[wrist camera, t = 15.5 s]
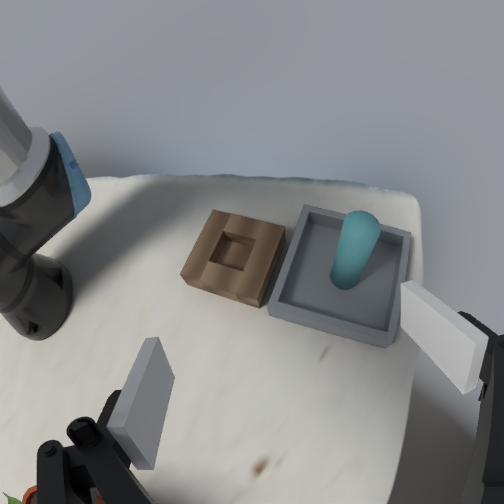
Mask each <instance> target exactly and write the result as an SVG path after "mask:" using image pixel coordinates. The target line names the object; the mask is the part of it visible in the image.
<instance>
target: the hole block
mask: <svg viewBox="0 0 504 504" xmlns="http://www.w3.org/2000/svg"><path fill="white" fill-rule="evenodd" d="M285 241H286V238H285V227H283V226H279V225H275V224H271V223H267V222H263V221H259V220H255V219H251V218H247V217H242V216H238V215H234V214H230V213H225V212H221V211H217V210H213V211H212V213H211V214H210V216H209V218H208V220H207V222H206V224H205V226H204V228H203V230H202V232H201V233H200V235H199V237H198V239H197V241H196V243H195V245H194V247H193V249H192V251H191V253H190V255H189V257H188V259H187V261H186V263H185V265H184V267H183V269H182V271H181V273H180V275H181V276H182V278H183V279H184V280H185V282H186V283H187V285H190V286H193V287H196V288H199V289H202V290H205V291H208V292H211V293H214V294H217V295H220V296H223V297H226V298H229V299H232V300H235V301H238V302H241V303H244V304H247V305H250V306H253V307H257V308H260V307H261V304H262V301H263V299H264V296H265V294H266V291H267V288H268V286H269V283H270V280H271V278H272V275H273V273H274V270H275V267H276V265H277V262H278V259H279V257H280V254H281V251H282V249H283V246H284V243H285Z"/></svg>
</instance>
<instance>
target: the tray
mask: <svg viewBox="0 0 504 504" xmlns="http://www.w3.org/2000/svg"><path fill="white" fill-rule="evenodd" d="M346 216H347V215H345V214H341V213H337V212H333V211H329V210H325V209H321V208H317V207H313V206H309V205H304V206H303V209H302V212H301V215H300V218H299V221H298V224H297V226H296V229H295V232H294V235H293V238H292V240H291V243H290V246H289V249H288V251H287V254H286V257H285V260H284V262H283V265H282V268H281V271H280V273H279V276H278V279H277V281H276V284H275V287H274V289H273V292H272V295H271V297H270V300H269V303H268V305H267V308H268V312H269V315H270V316H273V317H276V318H280V319H283V320H286V321H289V322H293V323H296V324H299V325H303V326H306V327H310V328H313V329H316V330H320V331H323V332H327V333H330V334H334V335H338V336H341V337H345V338H348V339H352V340H356V341H360V342H363V343H367V344H371V345H375V346H379V347H382V348H386V347H388V346H389V345H390V344H392V343H393V342H394V337H395V332H396V328H397V323H398V318H399V313H400V307H401V283H404V282H405V277H406V270H407V262H408V254H409V246H410V236H411V232H407V231H404V230H400V229H397V228H393V227H390V226H386V225H383V224H380V228H381V230H380V235H379V237H378V239H377V242H376V244H375V246H374V248H373V251H372V253H371V255H370V257H369V259H368V262H367V264H366V266H365V268H364V270H363V272H362V274H361V276H360V279H359V281H358V283H357V284H356V286H355V287H353V288H351V289H348V290H342V289H339V288H337V287H336V286H335V285H334V284H333V283H332V281H331V278H330V273H331V269H332V265H333V261H334V258H335V254H336V250H337V246H338V242H339V238H340V234H341V230H342V226H343V222H344V219H345V217H346Z"/></svg>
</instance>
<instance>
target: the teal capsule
mask: <svg viewBox="0 0 504 504" xmlns="http://www.w3.org/2000/svg"><path fill="white" fill-rule="evenodd" d="M380 230H381V228H380V224H379V222H378V220H377V219H376V218H375V217H374V216H373V215H372V214H370V213H368V212H365V211H354V212H351V213H349V214H348V215H347V216H346V217H345V219H344V222H343V226H342V230H341V234H340V238H339V242H338V246H337V250H336V254H335V258H334V261H333V265H332V269H331V273H330V278H331V281H332V283H333V284H334V285H335V286H336V287H337V288H339V289H342V290H348V289H351V288H353V287H355V286H356V284H357V283H358V281H359V279H360V276H361V274H362V272H363V270H364V268H365V266H366V264H367V262H368V259H369V257H370V255H371V253H372V251H373V248H374V246H375V244H376V242H377V239H378V237H379V235H380Z"/></svg>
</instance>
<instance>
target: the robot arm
mask: <svg viewBox="0 0 504 504" xmlns="http://www.w3.org/2000/svg"><path fill="white" fill-rule="evenodd" d="M90 200H91V190H90V187H89V185H88V183H87V181H86V179H85V177H84V175H83V173H82V171H81V169H80V167H79V165H78V163H77V162H76V159H75V157H74V156H73V153H72V151H71V149H70V147H69V146H68V144H67V142H66V140H65V138H64V137H63V135H62V134H61V133H60V132H58V131H57V132H54V133H51V134H50V135H48V133H47V132H46V131H45V130H44V129H42V128H40V127H28V126H27V125H26V124H25V122H24V121H23V119H22V118H21V116H20V115H19V114H18V112H17V111H16V109H15V108H14V106H13V105H12V103H11V102H10V101H9V99H8V97H7V96H6V94H5V93H4V91H3V90H2V88H1V87H0V313H1V314H2V315H3V317H4V318H5V319H6V320H7V321H8V322H9V324H10V325H11V326H12V327H13V328H14V329H15V330H16V331H17V332H18V333H19V334H20V335H22V336H24V337H26V338H28V339H31V340H43V339H45V338H47V337H49V336H50V335H52V334H53V333H54V332H55V331H56V330H57V329H58V328H59V327H60V325H61V324H62V322H63V321H64V319H65V317H66V315H67V313H68V310H69V307H70V304H71V299H72V281H71V277H70V274H69V272H68V271H67V269H66V268H65V267H64V266H63V265H62V264H60V263H59V262H58V261H57V260H55V259H53V258H50V257H47V256H43V255H40V254H37V253H35V252H36V251H37V250H39V249H40V248H41V247H42V246H43V245H44V244H45V243H46V242H47V241H49V240H50V239H51V238H52V237H53V236H54V235H55V234H57V233H58V232H59V231H60V230H61V229H62V228H63V227H65V226H66V225H67V224H68V223H69V222H71V221H72V220H73V219H75V218H76V217H77V215H78V214H79V213H80V212H81V211H82V210H83V209H84V208H85V207H86V206H87V205H88V204H89V202H90ZM401 328H402V329H403V330H404V331H405V332H406V333H407V334H408V335H409V336H410V337H411V338H412V339H413V340H414V341H415V342H416V343H417V344H418V346H419V347H420V348H421V349H422V350H423V351H424V352H425V353H426V354H427V355H428V356H429V357H430V358H431V359H432V361H433V362H434V363H435V364H436V365H437V366H438V367H439V368H440V369H441V371H442V372H443V373H444V374H445V375H446V376H447V377H448V378H449V379H450V380H451V382H452V383H453V384H454V385H455V386H456V387H457V388H458V389H459V390H460V392H461V393H462V394H463V395H464V394H466V393H468V392H470V391H472V390H474V389H476V387H477V384H478V380H479V378H480V379H481V380H482V381H483V382H484V384H483V387H482V390H481V393H480V397H479V401H480V400H481V405H480V413H479V420H478V427H477V433H476V439H475V445H474V450H473V455H472V460H471V464H470V468H469V473H468V477H467V481H466V484H465V488H464V492H463V495H462V499H461V502H460V504H504V335H500V336H498V335H497V334H496V333H494V332H493V331H492V330H490V329H489V328H488V327H486V326H485V325H484V324H481V322H480V321H478V320H476V318H474V317H473V316H472V315H470V314H468V313H465V312H462V311H460V312H458V313H457V312H456V311H454V310H453V309H451V308H450V307H449V306H448V305H446V304H445V303H444V302H442V301H441V300H439V299H438V298H437V297H435V296H434V295H432V294H431V293H429V292H428V291H427V290H425V289H424V288H423V287H421V286H420V285H419V284H417V283H416V282H414V281H413V280H410V281H407V282H404V283H401ZM174 379H175V377H174V374H173V372H172V370H171V367H170V365H169V362H168V360H167V357H166V355H165V352H164V350H163V347H162V345H161V342H160V339H159V337H154V338H147V339H145V341H144V343H143V345H142V347H141V349H140V351H139V354H138V356H137V358H136V360H135V362H134V364H133V367H132V369H131V371H130V373H129V375H128V378H127V380H126V382H125V384H124V387H123V389H122V390H115V391H114V392H113V393H112V394H111V395H110V396H109V397H108V399H107V402H106V404H105V406H104V408H103V410H102V412H101V414H100V417H99V419H98V421H97V423H95V421H94V420H93V419H92V418H90V417H80V418H77V419H75V420H74V421H72V422H71V423H70V424H69V426H68V428H67V430H66V431H67V435H68V437H69V438H70V439H71V441H72V442H73V443H74V445H73V446H68V447H63V446H62V444H61V443H60V442H59V441H56V440H49V441H47V442H45V443H43V444H42V445H41V446H40V447H39V449H38V452H37V504H98V503H97V499H96V494H95V489H94V487H97V489H98V490H99V492H100V494H101V496H102V498H103V499H104V501H105V503H106V504H156V503H155V502H154V500H153V499H152V498H151V497H150V495H149V494H148V493H147V492H146V490H145V489H144V488H143V487H142V485H141V484H140V483H139V481H138V480H137V479H136V477H135V476H134V474H133V473H132V472H131V471H130V469H129V468H130V464H131V462H132V464H133V465H134V466H135V467H136V469H137V470H154V465H155V461H156V456H157V451H158V447H159V442H160V438H161V433H162V429H163V425H164V420H165V416H166V412H167V408H168V403H169V399H170V395H171V391H172V387H173V383H174Z"/></svg>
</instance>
